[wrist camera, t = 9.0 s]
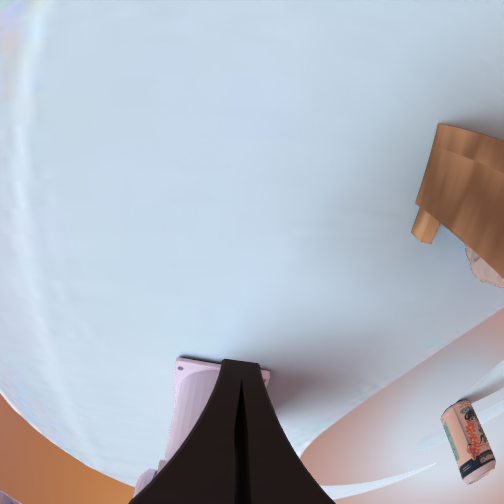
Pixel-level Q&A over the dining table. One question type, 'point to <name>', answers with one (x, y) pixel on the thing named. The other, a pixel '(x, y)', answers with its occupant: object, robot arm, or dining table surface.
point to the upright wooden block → (465, 192)
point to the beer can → (468, 441)
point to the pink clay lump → (483, 269)
